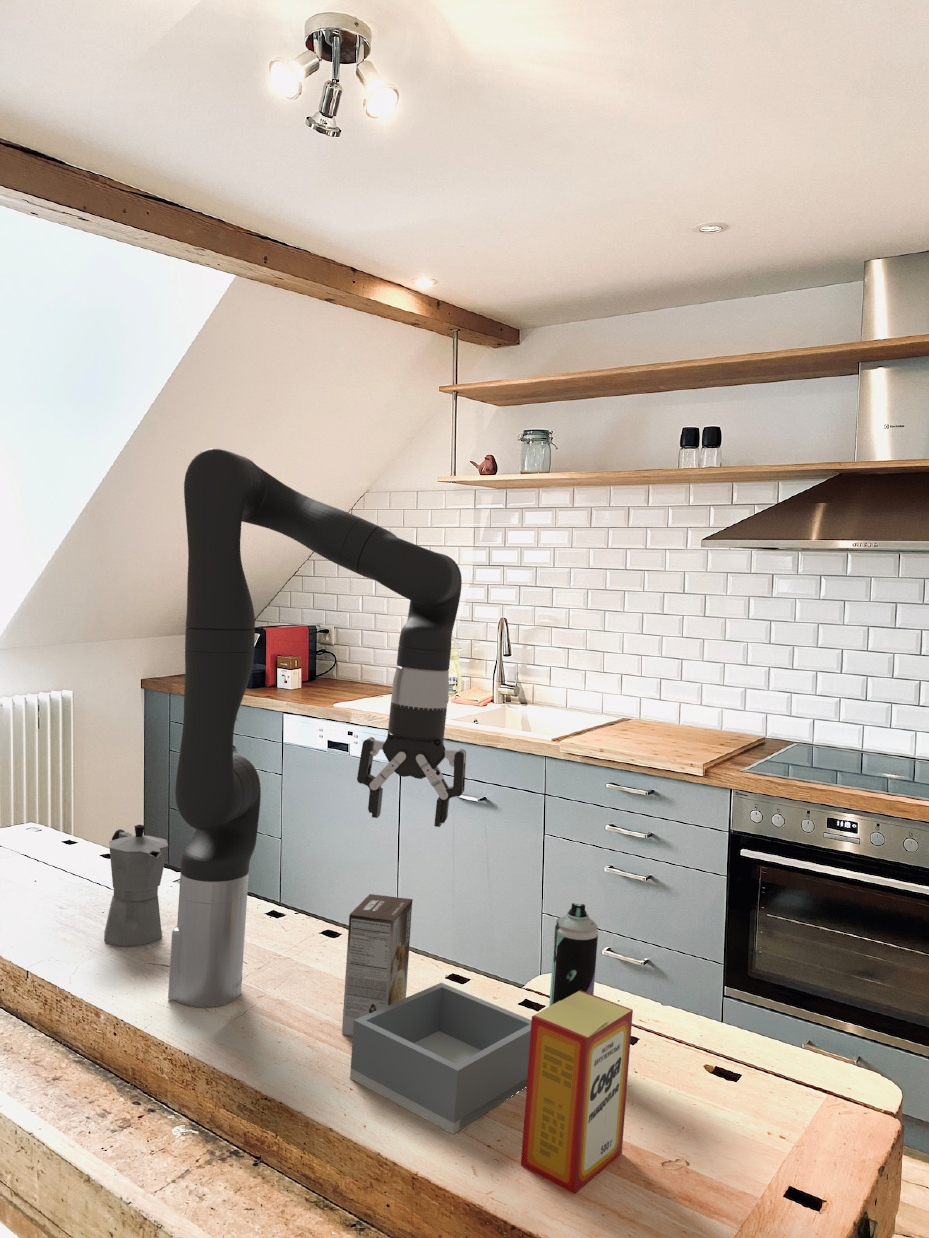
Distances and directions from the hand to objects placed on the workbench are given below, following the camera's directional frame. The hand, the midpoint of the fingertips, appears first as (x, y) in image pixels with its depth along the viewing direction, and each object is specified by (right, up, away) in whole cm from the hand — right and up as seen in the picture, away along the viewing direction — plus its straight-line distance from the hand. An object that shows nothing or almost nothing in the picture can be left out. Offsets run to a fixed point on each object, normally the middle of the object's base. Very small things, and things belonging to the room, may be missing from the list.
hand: (407, 821), depth 127 cm
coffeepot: (-46, -24, +25) cm, 57 cm away
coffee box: (-4, -27, 0) cm, 28 cm away
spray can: (+21, -29, -6) cm, 36 cm away
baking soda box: (+19, -30, -27) cm, 45 cm away
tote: (+5, -28, -13) cm, 32 cm away
